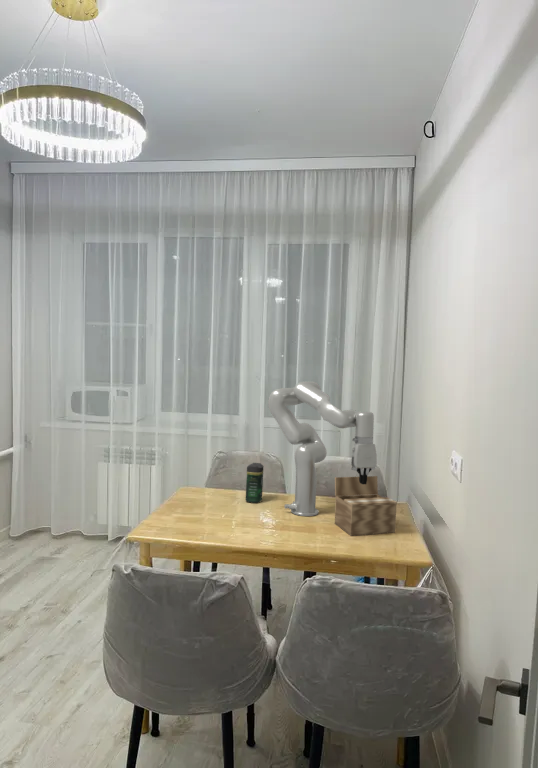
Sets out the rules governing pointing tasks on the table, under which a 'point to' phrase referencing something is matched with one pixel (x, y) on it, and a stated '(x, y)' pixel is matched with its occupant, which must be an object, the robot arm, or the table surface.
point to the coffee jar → (254, 482)
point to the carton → (365, 514)
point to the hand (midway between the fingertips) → (363, 483)
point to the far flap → (355, 486)
